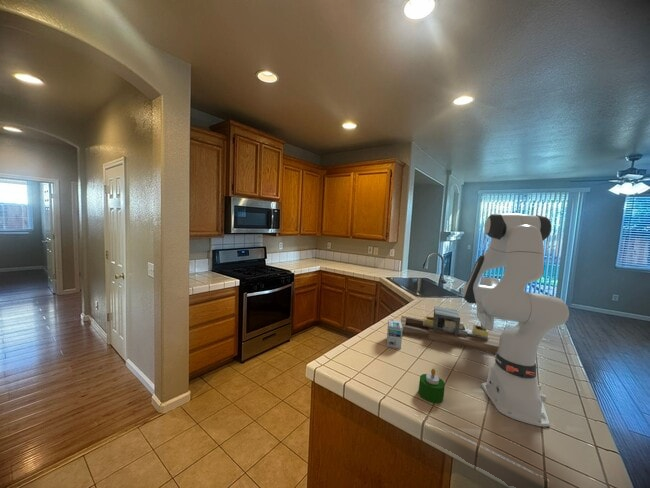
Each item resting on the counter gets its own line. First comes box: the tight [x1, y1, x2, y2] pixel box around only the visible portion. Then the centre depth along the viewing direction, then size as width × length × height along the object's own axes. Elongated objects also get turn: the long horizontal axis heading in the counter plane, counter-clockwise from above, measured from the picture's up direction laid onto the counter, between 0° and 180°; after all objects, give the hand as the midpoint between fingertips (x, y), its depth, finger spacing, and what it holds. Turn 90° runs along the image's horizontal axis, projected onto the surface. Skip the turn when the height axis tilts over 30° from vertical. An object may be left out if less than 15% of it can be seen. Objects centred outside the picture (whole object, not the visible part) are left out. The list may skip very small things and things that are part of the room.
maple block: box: [444, 318, 465, 330], centre depth 141 cm, size 6×9×6 cm, turn 69°
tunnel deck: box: [400, 306, 501, 355], centre depth 142 cm, size 18×54×14 cm, turn 69°
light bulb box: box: [386, 318, 403, 350], centre depth 129 cm, size 11×7×11 cm, turn 169°
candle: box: [417, 368, 446, 404], centre depth 91 cm, size 8×8×10 cm
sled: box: [423, 315, 490, 339], centre depth 141 cm, size 9×32×4 cm, turn 69°
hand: (483, 332), depth 136 cm, fingers closed
